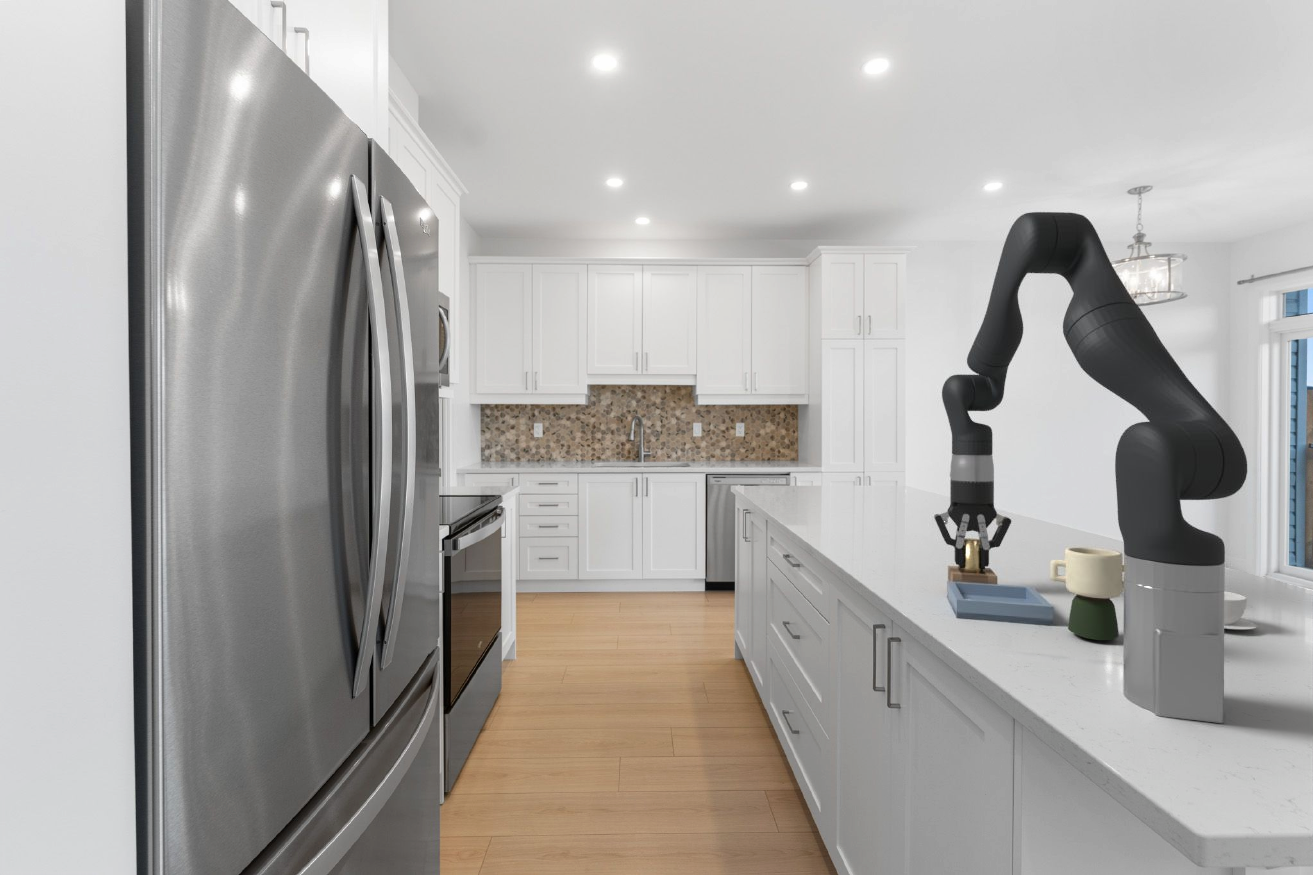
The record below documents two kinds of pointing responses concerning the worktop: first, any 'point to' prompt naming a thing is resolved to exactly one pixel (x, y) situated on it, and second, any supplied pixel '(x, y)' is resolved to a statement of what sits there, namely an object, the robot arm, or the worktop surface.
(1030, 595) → the tray
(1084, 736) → the worktop surface
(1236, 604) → the teacup
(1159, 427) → the robot arm
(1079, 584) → the character mug
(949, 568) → the bracket
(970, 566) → the pin
